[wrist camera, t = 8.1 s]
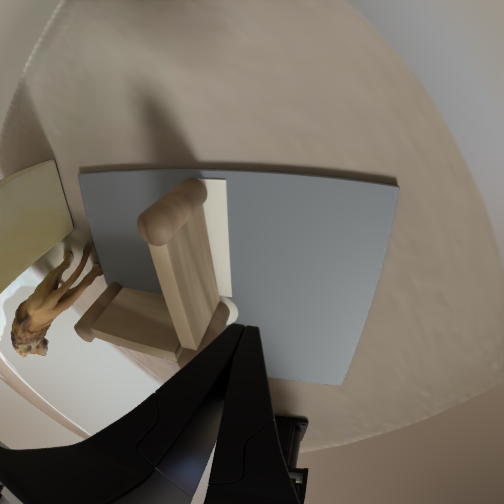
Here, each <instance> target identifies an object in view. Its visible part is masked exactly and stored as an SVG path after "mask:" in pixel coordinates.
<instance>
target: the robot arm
mask: <svg viewBox="0 0 504 504" xmlns="http://www.w3.org/2000/svg"><path fill="white" fill-rule="evenodd" d="M307 427H308V421H307V420H299V419H290V418H282V417H275V416H274V411H273V405H272V399H271V393H270V388H269V382H268V376H267V370H266V364H265V358H264V352H263V346H262V340H261V335H260V329H259V327H258V326H251V325H246V326H245V325H244V324H238V323H232V324H230V325H229V326H228V327H227V328H226V329H225V330H224V331H223V332H221V333H220V334H219V335H218V336H217V337H216V338H215V339H214V340H213V341H212V342H211V343H209V344H208V345H207V346H206V347H205V348H204V349H203V350H202V351H201V352H199V353H198V354H197V355H196V356H195V357H194V358H193V359H192V360H191V361H189V362H188V363H187V364H186V365H185V366H184V367H183V368H181V369H180V370H179V371H178V372H177V373H176V374H175V375H174V376H172V377H171V378H170V379H169V380H168V381H167V382H165V383H164V384H163V385H162V386H161V387H160V388H159V389H157V390H156V391H155V393H153V394H151V395H150V396H149V397H148V398H147V399H146V400H144V401H143V402H142V403H141V404H139V405H138V406H137V407H135V408H134V409H133V410H132V411H130V412H129V413H128V414H126V415H124V416H123V417H121V418H120V419H119V420H117V421H115V422H114V423H112V424H110V425H109V426H107V427H106V428H104V429H102V430H101V431H100V432H98V433H96V434H94V435H93V436H91V437H89V438H88V439H86V440H84V441H82V442H79V443H76V444H73V445H69V446H61V447H52V448H41V449H24V450H13V449H10V448H8V447H7V446H6V445H5V444H3V443H2V442H1V441H0V504H190V503H191V501H192V497H193V496H194V494H195V492H196V489H197V487H198V485H199V482H200V480H201V477H202V475H203V472H204V470H205V468H206V465H207V463H208V460H209V458H210V455H211V453H212V450H213V448H214V446H215V443H216V447H215V452H214V457H213V463H212V468H211V473H210V478H209V483H208V485H209V486H208V489H207V493H206V497H205V500H204V504H304V499H305V493H306V484H307V477H308V468H304V469H301V468H296V466H297V460H298V453H299V447H300V441H302V439H303V436H304V434H305V431H306V429H307ZM216 441H217V442H216ZM296 481H300V482H299V483H296Z"/></svg>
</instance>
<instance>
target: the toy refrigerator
mask: <svg viewBox="0 0 504 504" xmlns="http://www.w3.org/2000/svg"><path fill="white" fill-rule="evenodd" d="M73 230H74V228H73V224H72V220H71V216H70V213H69V209H68V206H67V203H66V200H65V196H64V193H63V189H62V186H61V182H60V178H59V175H58V171H57V167H56V164H55V161H54V160H48V161H45V162H42V163H39V164H36V165H34V166H31V167H28V168H25V169H23V170H20V171H18V172H15V173H13V174H11V175H9V176H7V177H5V178H3V179H1V180H0V294H1V293H2V292H3V291H4V290H5V289H6V288H7V287H8V286H9V285H10V284H11V283H12V282H13V281H14V280H15V279H16V278H17V277H18V276H20V275H21V274H22V273H23V272H24V271H25V270H26V269H28V268H29V267H30V266H31V265H32V264H33V263H34V262H35V261H37V260H38V259H39V258H40V257H41V256H42V255H44V254H45V253H46V252H47V251H49V250H50V249H51V248H52V247H54V246H55V245H56V244H57V243H59V242H60V241H61V240H63V239H64V238H65V237H66V236H68V235H69V234H70V233H71V232H72V231H73Z"/></svg>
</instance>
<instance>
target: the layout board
mask: <svg viewBox="0 0 504 504" xmlns="http://www.w3.org/2000/svg"><path fill="white" fill-rule="evenodd" d="M78 178H79V183H80V188H81V193H82V198H83V202H84V207H85V211H86V215H87V219H88V223H89V227H90V231H91V234H92V238H93V242H94V245H95V249H96V252H97V255H98V259H99V262H100V265H101V268H102V271H103V274H104V277H105V280H106V283H107V286H109V285H110V284H111V283H112V282H116V283H119V284H120V285H122V286H123V287H124V288H129V289H134V290H139V291H144V292H149V293H154V294H160V295H163V292H162V288H161V285H160V282H159V279H158V276H157V272H156V269H155V266H154V262H153V259H152V255H151V252H150V248H149V245H148V243H147V242H146V241H145V240H144V239H143V238H142V237H141V236H140V234H139V232H138V229H137V219H138V217H139V215H140V214H141V213H142V212H143V211H145V210H146V209H147V208H148V207H150V206H151V205H152V204H154V203H155V202H156V201H157V200H159V199H160V198H161V197H163V196H164V195H165V194H167V193H168V192H169V191H171V190H172V189H173V188H175V187H176V186H177V185H179V184H180V183H181V182H183V181H184V180H186V179H188V178H196V179H198V180H200V181H201V182H202V183H203V184H204V185H205V186H206V189H207V199H206V201H205V202H204V203H203V208H204V214H205V220H206V226H207V232H208V238H209V244H210V250H211V255H212V261H213V266H214V272H215V277H216V283H217V288H218V293H219V298H220V301H221V302H223V303H224V304H226V305H227V306H228V308H229V310H230V316H229V318H228V321H227V323H226V326H225V328H224V330H225V329H226V328H227V327H228V326H229V325H230V324H232V323H238V324H244V325H245V326H246V325H251V326H258V327H259V329H260V335H261V340H262V346H263V352H264V358H265V364H266V370H267V376H268V377H269V378H276V379H283V380H291V381H300V382H309V383H320V384H332V385H341V384H342V382H343V380H344V377H345V375H346V372H347V370H348V368H349V365H350V363H351V360H352V358H353V355H354V352H355V350H356V347H357V344H358V342H359V339H360V336H361V333H362V331H363V328H364V325H365V322H366V319H367V316H368V313H369V310H370V307H371V304H372V301H373V297H374V294H375V291H376V288H377V284H378V281H379V277H380V274H381V270H382V266H383V263H384V259H385V255H386V251H387V247H388V243H389V239H390V235H391V230H392V226H393V221H394V216H395V212H396V207H397V201H398V196H399V190H400V187H399V186H398V185H392V184H386V183H379V182H372V181H364V180H356V179H348V178H340V177H331V176H321V175H310V174H299V173H286V172H271V171H253V170H229V169H141V170H118V171H101V172H87V173H80V174H78Z"/></svg>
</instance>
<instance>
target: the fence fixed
mask: <svg viewBox="0 0 504 504" xmlns="http://www.w3.org/2000/svg"><path fill="white" fill-rule="evenodd" d="M229 316H230V310H229V308H228V306H227V305H226V304H224V303H223V302H221V301H219V303H218V305H217V307H216V310H215V312H214V314H213V316H212V318H211V321H210V323H209V325H208V327H207V329H206V332H205V334H204V336H203V338H202V340H201V343H200V345H199V347H198V349H197V350H193V349H187V348H182V346H181V343H180V341H179V338H178V335H177V333H176V330H175V327H174V324H173V321H172V318H171V316H170V313H169V310H168V307H167V304H166V301H165V298H164V295H160V294H154V293H149V292H144V291H139V290H134V289H129V288H124V287H123V286H122V285H120V284H119V283H116V282H112V283H111V284H110V285H109V286H108V287H107V288H106V290H105V291H104V292H103V293H102V294H101V295H100V296H99V298H98V299H97V300H96V301H95V302H94V303H93V304H92V306H91V307H90V308H89V309H88V310H87V311H86V313H85V314H84V315H83V316H82V317H81V319H80V320H79V321H78V322H77V324H76V325H75V326H74V329H75V331H76V333H77V334H78V335H79V336H80V337H81V338H82V339H83V340H85V341H87V342H92V340H93V339H94V338H95V337H96V338H99V339H101V340H104V341H107V342H110V343H113V344H116V345H119V346H122V347H126V348H129V349H132V350H135V351H139V352H142V353H145V354H149V355H152V356H156V357H160V358H163V359H167V360H171V361H175V362H178V365H179V366H180V368H183V367H184V366H185V365H186V364H187V363H188V362H189V361H191V360H192V359H193V358H194V357H195V356H196V355H197V354H198V353H199V352H201V351H202V350H203V349H204V348H205V347H206V346H207V345H208V344H209V343H211V342H212V341H213V340H214V339H215V338H216V337H217V336H218V335H219V334H220V333H221V332H223V331H224V328H225V326H226V323H227V321H228V318H229Z"/></svg>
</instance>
